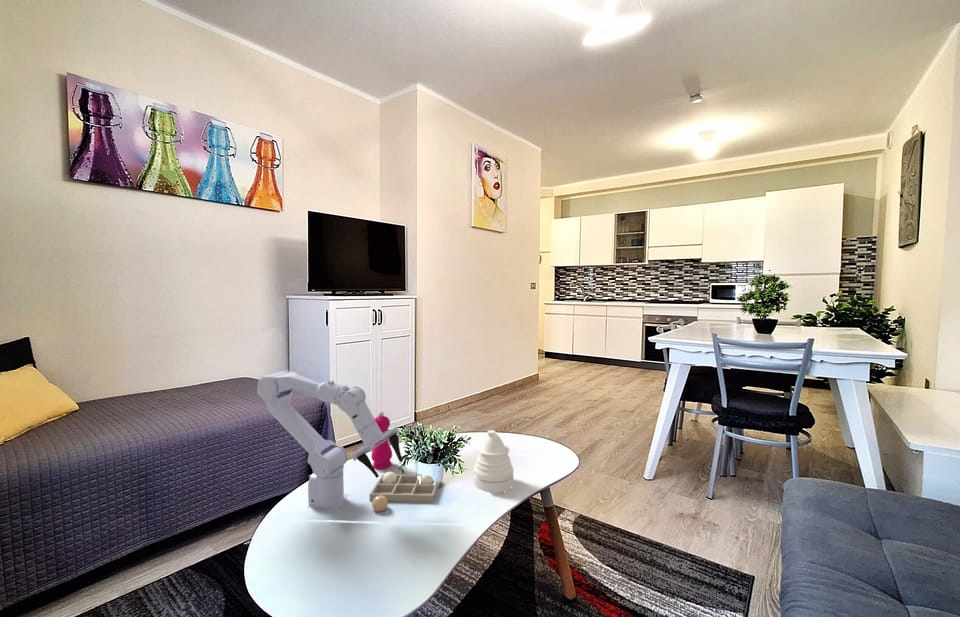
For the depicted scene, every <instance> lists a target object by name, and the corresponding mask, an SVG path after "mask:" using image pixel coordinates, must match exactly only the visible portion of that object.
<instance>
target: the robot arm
mask: <svg viewBox="0 0 960 617" xmlns="http://www.w3.org/2000/svg"><path fill="white" fill-rule="evenodd" d="M294 390H297V391H301V392H304V393H309V394H312V395H316V396H317V398H318V400H320V401H322V402H325V403H328V404H332V405H336V406H338V408H339V409H340V410H341V412H344V413H346V415H347V417H349V419H350V420H351V423H352V424H353V426H354V428H355V430H356V432H357V434H358V435H359V437H360V439H361V441H362V443H363V446H362V447H360V448H359V449H357V450H356V451H354V452H352V453H351V454H350V456H351V458H352V460H353V461H354V462H355V461H356V460H358V462H360V463H361V464H363V465H364V466H365V467H366V468H368V469H369V470H370V471H371V472H372V474H373V475H374V476H375V478H376V479H377V478H380V477H379V474H378V472H377V470H376V469H374V467H373V463H372V461H370V460H371V459H370V458H369V456H368V455H367V453H369V452H372V450H373V449H374V448H375V447H377V446H379V445H380V444H382V443H383V442H385V441H386V440H388V443H389V445H390V447H392V449H393V451H394V452H395V455H396V457H397V460H398V462H403V461H404V460H403V459H404V458H402V454H401V449H400V440H399V435H398V434H400V433H401V431H400V430H399V428H398V426H395V427H393V428H391V429H389V431H388V432H386V433H384V434H382V432H381V430H380V428H379V426H378V425H377V423H376V422H375V418H374V415H373V413H372V412H371V409H370V408H369V406H368V405H367V402H366V399H367V397H366V392H365V391H364V390H363V389H362V388H361V387H359V386H356V385H355V386H352V387H349V385H346V384H345V385H342V384H338V383H335V380H332V379H330V380H326V381H324V382H318V381H315V380H312V379H311V378H308V377H305V376H302V375H300V374H297V372H294V371H290V370H286V369H285V370H282V371H279V372H276V373H273V374H269V375H265V376H261V377H260V378H259V380H258V381H257V391H256V392H257V394H256V395H258V396H259V398H260V399H262V400H263V402H264V403H265V406H266V408H267V410H268V412H269V413H270V414H271V415H272V416H273V418H275V419H276V421H278V423H280V425H281V426H282V427H283V428H284V429H285V430H286V431H287V432H288V433H289V434H290V435H291V436H292V438H294V439H295V440H296V441H297V443H298V444H299V445H300V446H301V447H302V448H303V449H304V450H305V451H306V452H307V453H308V458H307V463H308V465H310V468H311V469H312V474H310V476H309V480H308V484H307V486H308V487H307V489H308V490H307V492H308V494H307V496H308V501H307V502H308V505H307V509H309V508H311V509H312V508H313V509H315V508H318V509H340V507H342V505H343V503H344V502H345V501H346V499H347V498H348V497H349V493H348V494H345V492H344V491H345V490H344V483H345V482H344V469H345V464H346V463H347V461H348V452H347V450H346V449H345V448H344V447H343V446H341V445H339V444H337V443H335V441H333V440H328V439H325V438H324V437H322V435H321V434H320V433H318V431H317V430H315V428H314V427H313V426H312V425H311V424H310V423H309V422H308V421H307V420H306V419H305V418H304V417H303V416H302V415H301V414H300V413H299V412H298V410H296V409H295V408H294V407H293V406H292V405H291V403H290V401H291V399H292V395H293V392H294ZM384 439H385V440H384ZM381 440H383V441H381ZM379 441H381V442H380V443H378V444H377V445H375V444H376V443H377V442H379ZM374 445H375V446H374Z"/></svg>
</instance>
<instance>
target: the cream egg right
mask: <svg viewBox="0 0 960 617" xmlns="http://www.w3.org/2000/svg"><path fill="white" fill-rule="evenodd" d="M422 475H423V474H422ZM433 483H434V480H433V478H432V477H431V476H428V475H423V476H422V477H421V484H422V485H433Z"/></svg>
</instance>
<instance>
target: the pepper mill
mask: <svg viewBox="0 0 960 617" xmlns="http://www.w3.org/2000/svg"><path fill="white" fill-rule="evenodd" d="M374 419H375V422H376V423H377V425H378V426H379V428H380V430H381V432H382V434H384V433H386V432H388V431H390V429H389V427H390V426H391V421H390V418H389V417H388V416H386V415H384V412H383V411H380V412H379V413H378V416H376V417H375V418H374ZM384 440H385V439H384ZM381 441H383V440H381ZM381 441H379V442H377V443H376V444H374V445H373V446H375V445H377V444H378V443H380V442H381ZM370 457H371V459H372V461H373V462H372V466H373V467H374V469H375V470H378V471H379V470H386V469H389V468H391V466H392V461H391V459H392V457H393V451H392V448H391V444H390V442H389V439H388V440H386V441H385V442H383V443H382V444H380V445H379V446H377V447H375V448H374V449H372V450H371V456H370Z"/></svg>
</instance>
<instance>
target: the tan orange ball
mask: <svg viewBox="0 0 960 617" xmlns="http://www.w3.org/2000/svg"><path fill="white" fill-rule="evenodd" d="M388 504H389V501H388V500H387V498H386V497H385V496H383V495H379V496H376V497H375V498H374V500H373V501H371V506H372V507H371V508H372V509H373V511H375V512H376V513H382V512H384V511H385V510H386V509H387V508H388Z"/></svg>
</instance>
